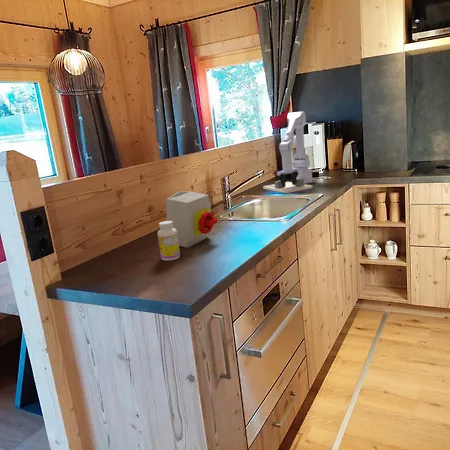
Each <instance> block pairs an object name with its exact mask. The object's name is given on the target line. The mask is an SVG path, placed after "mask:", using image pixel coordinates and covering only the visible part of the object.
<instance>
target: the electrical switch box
mask: <svg viewBox="0 0 450 450" xmlns="http://www.w3.org/2000/svg"><path fill="white" fill-rule="evenodd" d="M165 201H166V203H165V204H166V221H172V222H173V228H175V229H176V230H177V236H178V243H179V247H182V248H186V249H187V248H190V247H192V246H193V245H196V244H198V243H200V242H202V241H203V240H206V239H207V238H209V235H210V233H211V231H212V229H213V228H214V225H215V224H218V218H215V217H214V214H212V209H211V208H212V203H211V200H210V197H209V194H205V193H200V192H196V191H195V192H194V191H189V190H188V191H177V192H175V193H174V194H172V195H171V196H169V197H168V198H166V200H165Z"/></svg>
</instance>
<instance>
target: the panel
mask: <svg viewBox="0 0 450 450" xmlns="http://www.w3.org/2000/svg"><path fill="white" fill-rule="evenodd" d="M285 184H286V186H285V187H282V188H275V184H268V185H263V188H262V189H264V190H267V191H273V192H277V193H278V192H279V193H283V194H289V193H294V192H300V191H305V190H309V189H313V185H312V184H311V185H310V184H307V183H306V184H304V185H302V186H294V185H292V181H285Z"/></svg>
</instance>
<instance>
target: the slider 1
mask: <svg viewBox="0 0 450 450" xmlns="http://www.w3.org/2000/svg"><path fill="white" fill-rule="evenodd" d="M274 184H275V188H282V184H281V181H280V180H277V181H274Z"/></svg>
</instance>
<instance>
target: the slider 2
mask: <svg viewBox="0 0 450 450" xmlns="http://www.w3.org/2000/svg"><path fill="white" fill-rule="evenodd" d="M302 185H304V179H298V178H297V179H296V184H295V185H294V186H302Z"/></svg>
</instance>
